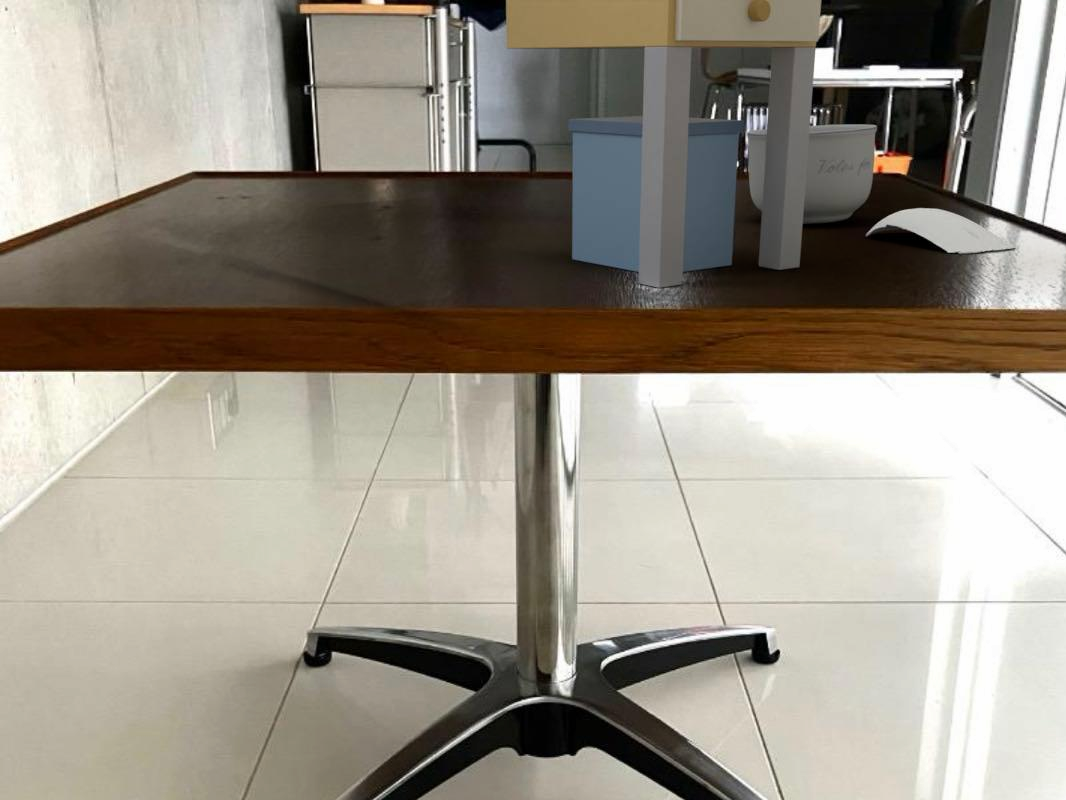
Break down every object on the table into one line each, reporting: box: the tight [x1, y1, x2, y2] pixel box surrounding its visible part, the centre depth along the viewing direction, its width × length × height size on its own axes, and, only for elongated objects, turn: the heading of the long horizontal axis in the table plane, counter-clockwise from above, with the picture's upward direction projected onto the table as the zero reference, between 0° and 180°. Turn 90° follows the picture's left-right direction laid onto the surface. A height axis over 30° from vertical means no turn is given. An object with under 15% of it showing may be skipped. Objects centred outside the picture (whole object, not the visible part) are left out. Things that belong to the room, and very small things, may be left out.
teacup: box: [746, 123, 878, 225], centre depth 107 cm, size 14×11×8 cm
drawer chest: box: [505, 0, 822, 289], centre depth 81 cm, size 17×13×22 cm
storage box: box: [568, 115, 744, 273], centre depth 84 cm, size 9×7×10 cm
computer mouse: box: [865, 207, 1017, 255], centre depth 94 cm, size 7×12×2 cm, turn 26°
